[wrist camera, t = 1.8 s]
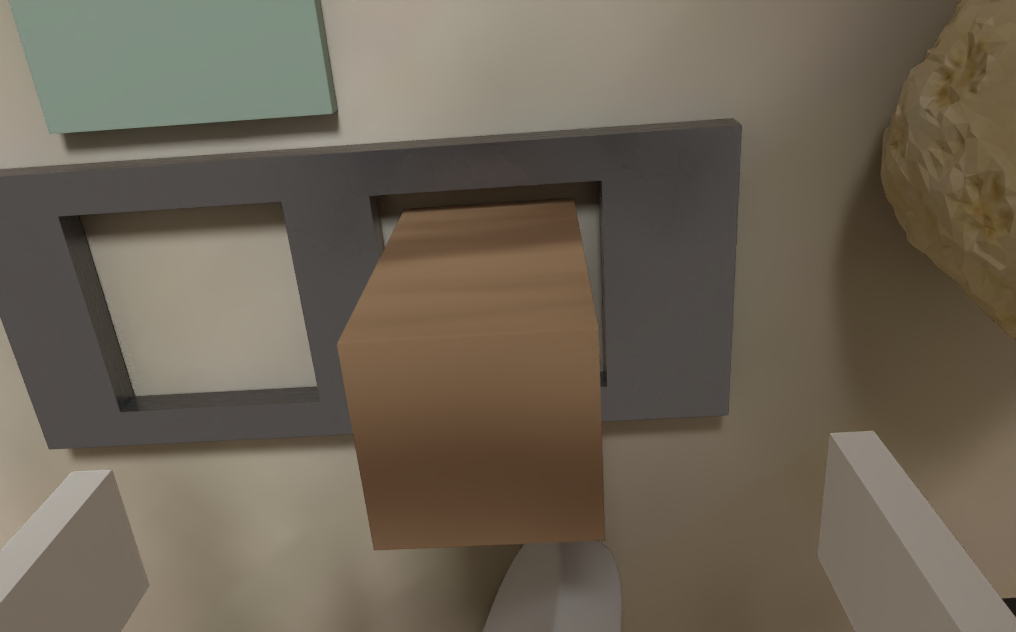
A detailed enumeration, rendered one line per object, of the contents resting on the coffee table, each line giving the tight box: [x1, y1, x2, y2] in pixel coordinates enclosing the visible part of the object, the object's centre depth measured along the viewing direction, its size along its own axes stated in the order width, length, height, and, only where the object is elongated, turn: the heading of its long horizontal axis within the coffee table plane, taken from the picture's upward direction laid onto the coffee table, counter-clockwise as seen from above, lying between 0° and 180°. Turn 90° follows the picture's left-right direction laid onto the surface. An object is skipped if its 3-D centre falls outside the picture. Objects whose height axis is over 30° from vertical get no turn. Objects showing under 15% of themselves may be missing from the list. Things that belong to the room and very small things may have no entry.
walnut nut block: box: [337, 198, 605, 550], centre depth 20 cm, size 5×5×9 cm
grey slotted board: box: [0, 119, 742, 449], centre depth 24 cm, size 9×22×1 cm, turn 94°
